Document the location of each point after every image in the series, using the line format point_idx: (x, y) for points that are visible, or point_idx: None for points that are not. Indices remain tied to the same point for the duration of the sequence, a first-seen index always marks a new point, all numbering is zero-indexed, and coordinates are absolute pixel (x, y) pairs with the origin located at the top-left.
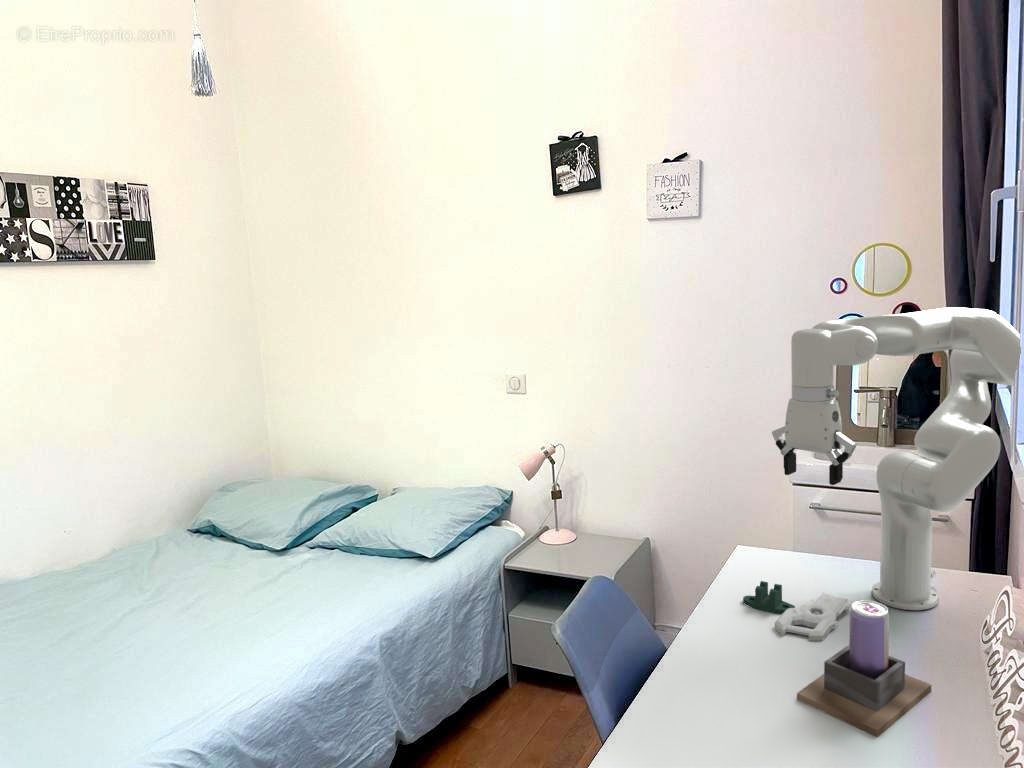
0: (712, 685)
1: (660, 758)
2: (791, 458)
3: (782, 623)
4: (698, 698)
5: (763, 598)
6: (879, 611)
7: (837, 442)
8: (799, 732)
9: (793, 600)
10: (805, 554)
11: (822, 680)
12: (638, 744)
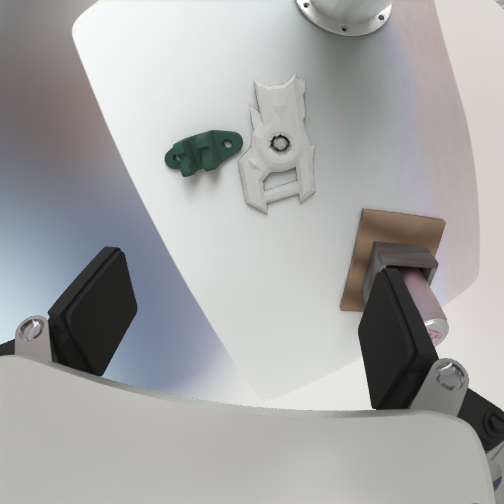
0: (266, 328)
1: (289, 392)
2: (94, 342)
3: (259, 204)
4: (268, 346)
5: (194, 159)
6: (439, 335)
7: (443, 468)
8: (357, 336)
9: (217, 104)
10: None
11: (354, 280)
12: (269, 390)
